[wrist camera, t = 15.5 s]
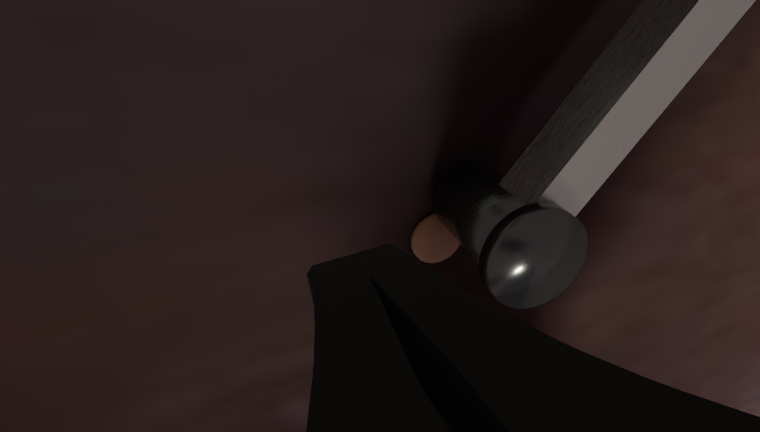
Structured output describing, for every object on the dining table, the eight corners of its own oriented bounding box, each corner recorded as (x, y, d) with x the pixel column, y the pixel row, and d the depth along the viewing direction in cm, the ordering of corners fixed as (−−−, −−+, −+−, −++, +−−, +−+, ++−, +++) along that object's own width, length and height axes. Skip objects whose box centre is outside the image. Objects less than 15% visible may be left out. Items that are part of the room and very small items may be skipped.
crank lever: (790, -296, 16) (1001, -371, 12) (828, -203, 17) (1024, -241, 13) (406, 211, 19) (469, 286, 15) (468, 248, 21) (538, 325, 17)
